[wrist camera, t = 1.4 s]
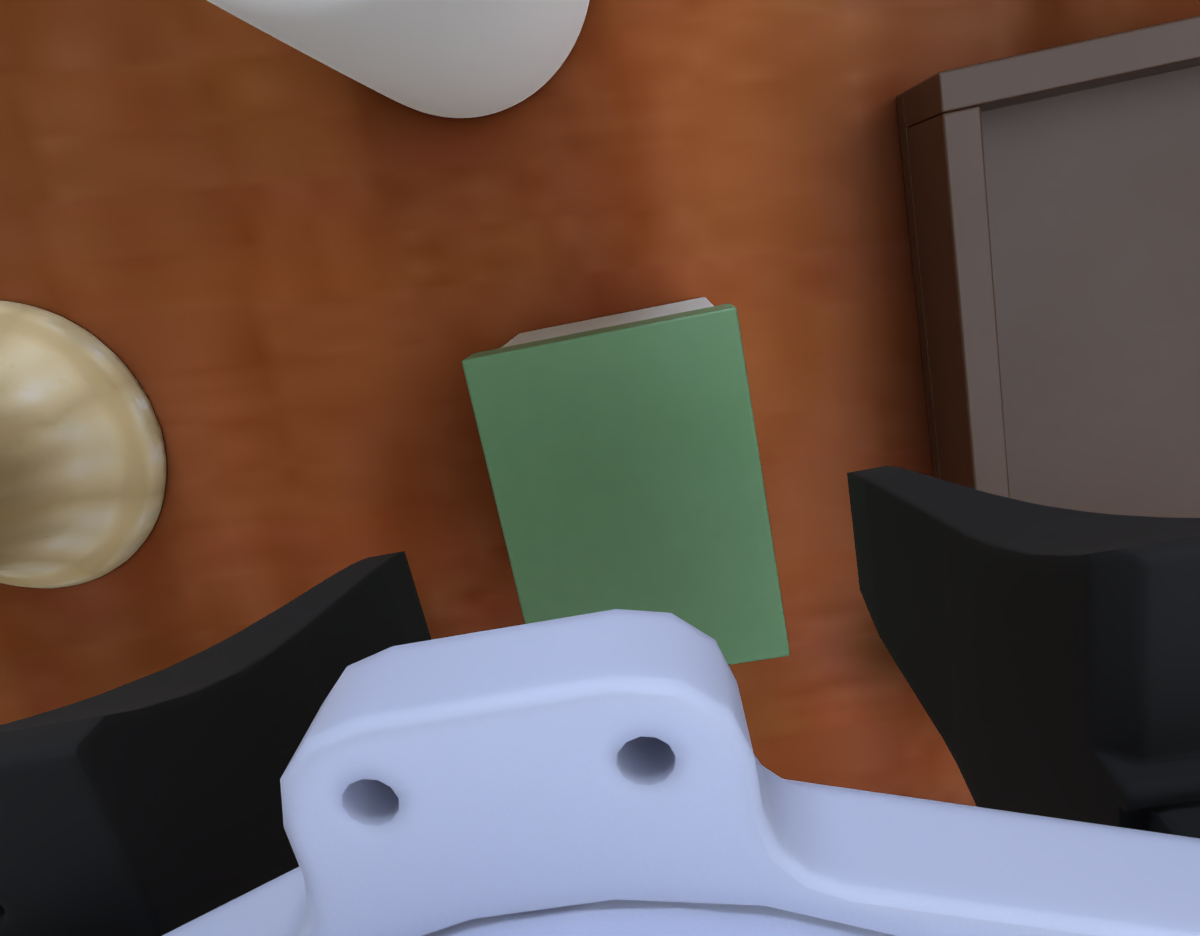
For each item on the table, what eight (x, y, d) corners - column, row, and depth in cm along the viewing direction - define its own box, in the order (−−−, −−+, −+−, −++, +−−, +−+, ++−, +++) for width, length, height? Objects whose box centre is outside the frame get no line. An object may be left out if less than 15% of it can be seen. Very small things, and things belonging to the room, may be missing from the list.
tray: (1384, 640, 23) (1493, 700, 20) (955, 701, 24) (998, 767, 21) (1415, -17, 19) (1558, -64, 16) (894, 96, 20) (938, 72, 17)
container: (754, 552, 23) (790, 656, 18) (566, 583, 24) (541, 694, 18) (712, 287, 22) (737, 307, 16) (508, 327, 22) (460, 360, 16)
